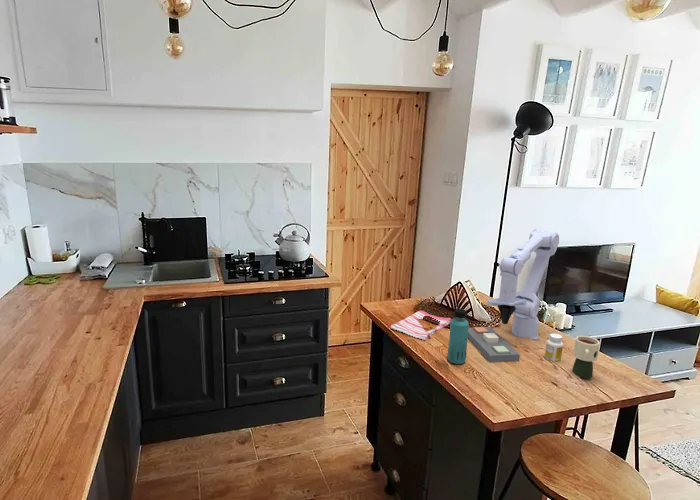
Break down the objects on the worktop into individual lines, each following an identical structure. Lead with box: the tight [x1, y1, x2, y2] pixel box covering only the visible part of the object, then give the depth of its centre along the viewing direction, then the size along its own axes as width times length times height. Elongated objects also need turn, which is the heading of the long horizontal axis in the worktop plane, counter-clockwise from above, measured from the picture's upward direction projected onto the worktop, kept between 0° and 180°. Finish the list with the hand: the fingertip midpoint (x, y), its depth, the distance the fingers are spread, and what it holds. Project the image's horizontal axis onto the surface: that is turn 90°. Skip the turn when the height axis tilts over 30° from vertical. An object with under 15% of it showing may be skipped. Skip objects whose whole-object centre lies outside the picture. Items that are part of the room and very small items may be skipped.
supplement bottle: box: [544, 333, 564, 363], centre depth 160 cm, size 5×5×10 cm
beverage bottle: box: [447, 308, 470, 365], centre depth 155 cm, size 6×7×20 cm
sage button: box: [493, 346, 509, 354], centre depth 161 cm, size 4×4×3 cm
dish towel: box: [390, 309, 453, 341], centre depth 188 cm, size 17×23×4 cm
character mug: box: [571, 335, 601, 379], centre depth 150 cm, size 11×7×13 cm, turn 154°
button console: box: [467, 326, 521, 363], centre depth 169 cm, size 11×24×4 cm, turn 8°
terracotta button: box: [473, 326, 488, 334], centre depth 177 cm, size 4×4×3 cm
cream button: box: [483, 333, 499, 343], centre depth 168 cm, size 4×4×3 cm
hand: (504, 323), depth 170 cm, fingers closed
